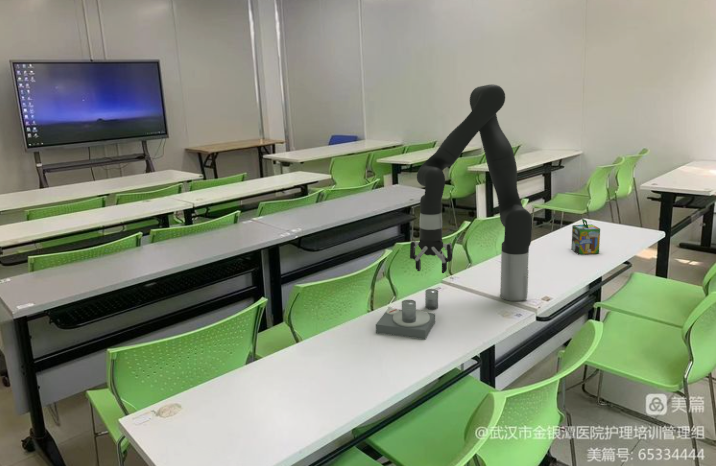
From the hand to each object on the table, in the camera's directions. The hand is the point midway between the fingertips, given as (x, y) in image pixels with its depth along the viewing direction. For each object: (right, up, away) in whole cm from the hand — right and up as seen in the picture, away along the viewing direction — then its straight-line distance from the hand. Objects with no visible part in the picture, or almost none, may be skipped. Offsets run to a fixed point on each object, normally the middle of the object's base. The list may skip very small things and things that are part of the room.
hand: (431, 271), depth 181 cm
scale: (-10, -17, -11) cm, 23 cm away
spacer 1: (-9, -14, -15) cm, 23 cm away
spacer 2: (+1, -13, +3) cm, 13 cm away
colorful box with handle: (+77, +5, +56) cm, 95 cm away
